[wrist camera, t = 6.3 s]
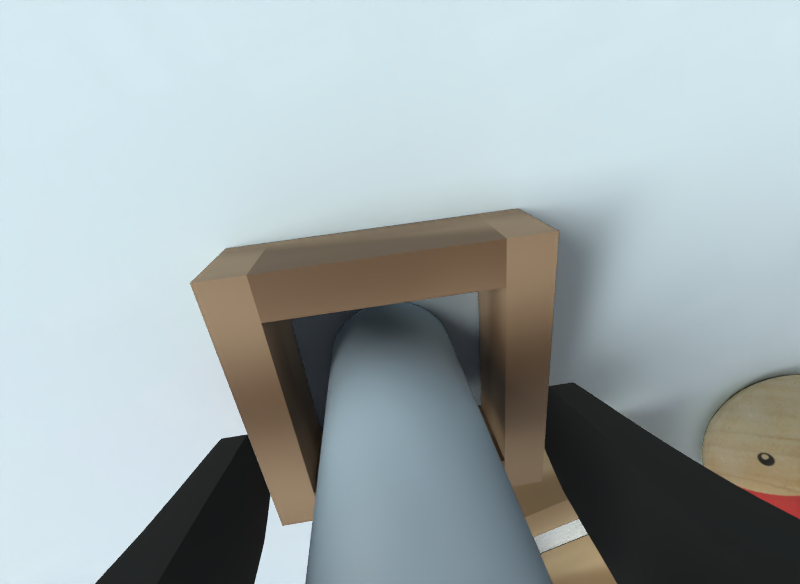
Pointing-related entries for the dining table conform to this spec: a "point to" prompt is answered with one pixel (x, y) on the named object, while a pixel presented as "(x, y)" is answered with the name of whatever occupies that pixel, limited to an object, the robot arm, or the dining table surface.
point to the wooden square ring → (375, 286)
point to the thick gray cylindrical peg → (411, 466)
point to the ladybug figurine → (759, 442)
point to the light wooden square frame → (550, 508)
